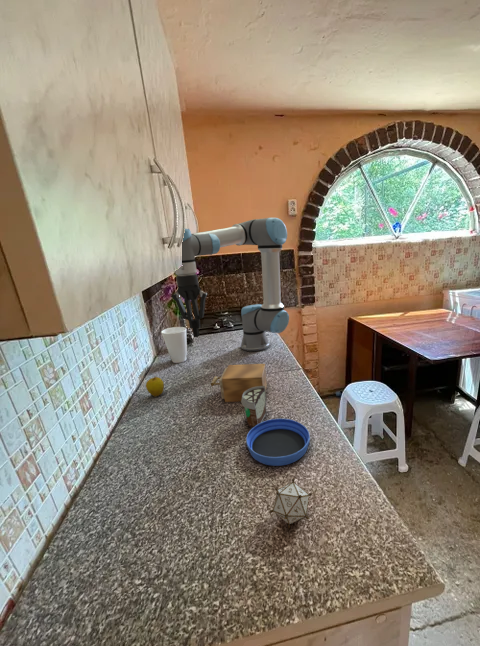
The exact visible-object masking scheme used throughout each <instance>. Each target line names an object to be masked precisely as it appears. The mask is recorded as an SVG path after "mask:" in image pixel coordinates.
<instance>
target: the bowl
mask: <svg viewBox="0 0 480 646" xmlns="http://www.w3.org/2000/svg"><path fill="white" fill-rule="evenodd" d="M245 441H246V447H247V449H248V451H249V454H250V456H251V457H252V458H253V459H254V460H256V461H257V462H259V463H260V464H262V465H266V466H273V467H279V466H280V467H281V466H286V465H290V464H294V463H295V462H297V461H298V460H300V459H301V458H302V457H304V456H305V454H306V452H307V451H308V448H309V445H310V441H311V436H310V432H309V430H308V428H307V426H305V425H303V424H302V423H301V422H299V421H296V420H294V419H290V418H272V419H271V418H270V419H267V420H263V421H262V423H259V424H258V425H256V426H255V427H253V428H252V427H251V429H250V430H249V431H248V433H247V435H246V440H245Z"/></svg>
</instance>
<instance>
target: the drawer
mask: <svg viewBox="0 0 480 646" xmlns="http://www.w3.org/2000/svg"><path fill="white" fill-rule="evenodd" d="M226 369H227V367H225V368H224V370H223V372H222V374H221V376H217V375H216V376H213V379H212V380H211V382H210V383H209V385H210V386H211V387H214V386H219V389H220V396H221V400H225V399H224V391H223V384H222V377H223V375H224V373H225V371H226ZM217 380H218V382H217Z"/></svg>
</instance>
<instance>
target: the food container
mask: <svg viewBox="0 0 480 646" xmlns="http://www.w3.org/2000/svg"><path fill="white" fill-rule="evenodd" d="M265 391H266V392H267V388H266V389H265V386H257V387H253V388H250V389H248V390H246V391H245V392H244V393H243V395H242V400H241V401H240V403H241V405H242V406H243V407H244V413H245V417H246V422H247V425H248V426H249V427H250V428H251V429H252V428H253V427H255V426H256V425H258V424H259V423H262V422H264V419H265V417H266V415H267V402H266V401H267V399H266V392H265Z"/></svg>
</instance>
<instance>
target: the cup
mask: <svg viewBox="0 0 480 646" xmlns="http://www.w3.org/2000/svg"><path fill="white" fill-rule="evenodd" d="M187 330H188V329H187V328H186V327H184V326H173V327H168V328H165V329H162V330H161V335H162V339H163V341H164V344H165V347H166V349H167V352H168V355H169V358H171V359H170V360H171V361H172V363H174V364H180V363H183V362H186V361H187V355H188V346H187V345H188V342H187V341H188V340H187V339H188V338H187Z"/></svg>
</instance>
